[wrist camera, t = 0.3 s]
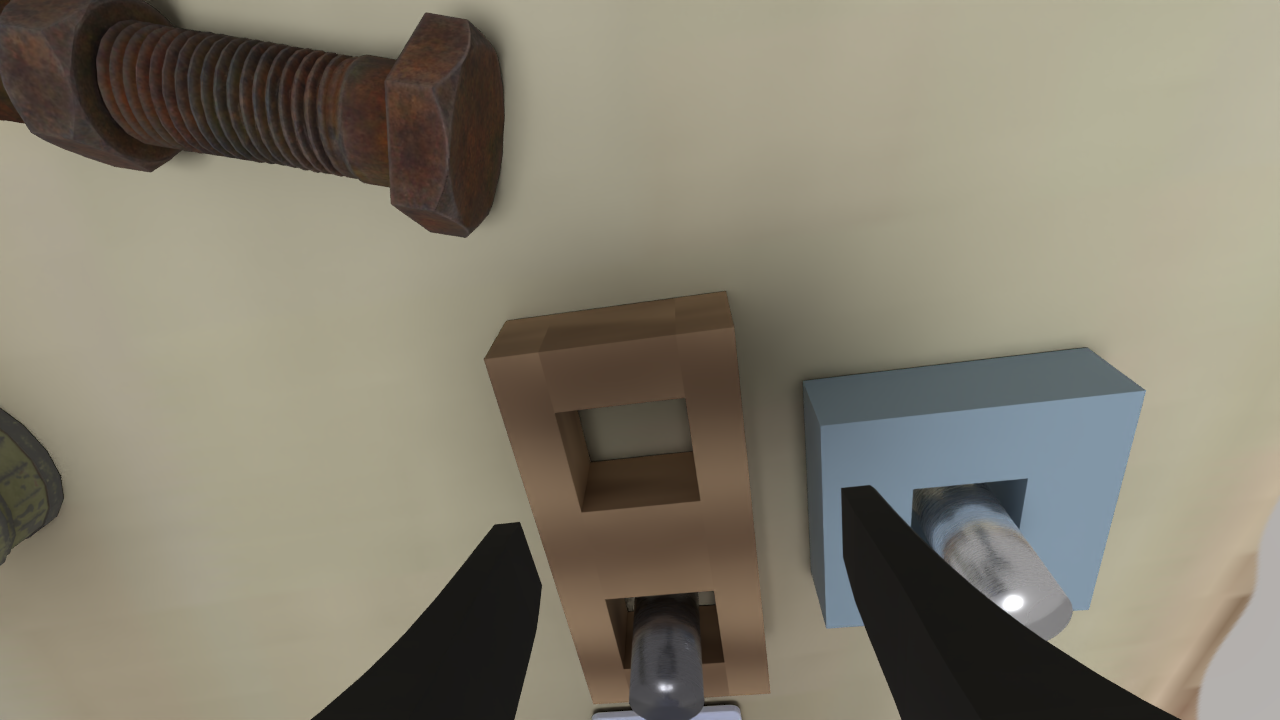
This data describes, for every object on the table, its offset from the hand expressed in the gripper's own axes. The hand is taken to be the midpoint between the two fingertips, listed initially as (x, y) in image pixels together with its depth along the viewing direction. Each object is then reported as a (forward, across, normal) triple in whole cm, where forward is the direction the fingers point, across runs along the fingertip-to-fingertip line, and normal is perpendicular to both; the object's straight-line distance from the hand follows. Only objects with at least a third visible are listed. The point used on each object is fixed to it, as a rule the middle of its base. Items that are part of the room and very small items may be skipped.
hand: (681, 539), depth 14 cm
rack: (+10, +2, +7) cm, 12 cm away
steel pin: (+10, -9, +7) cm, 15 cm away
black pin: (+10, +2, +12) cm, 15 cm away
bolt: (+10, +11, -11) cm, 19 cm away
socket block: (+10, -9, +7) cm, 15 cm away
